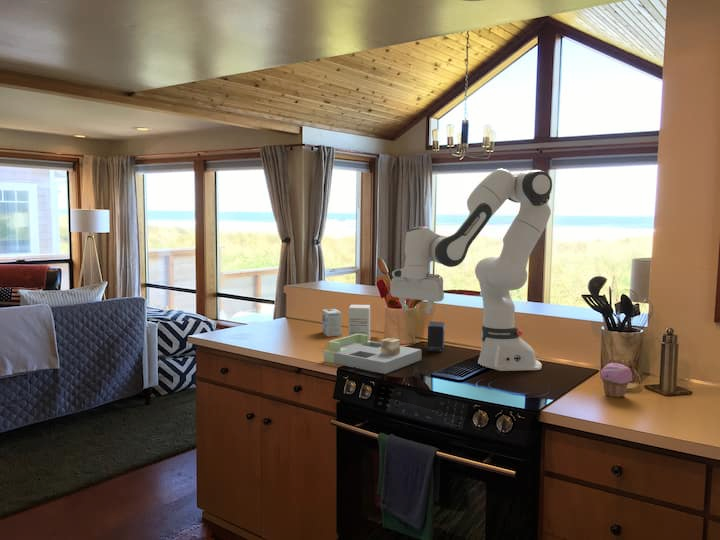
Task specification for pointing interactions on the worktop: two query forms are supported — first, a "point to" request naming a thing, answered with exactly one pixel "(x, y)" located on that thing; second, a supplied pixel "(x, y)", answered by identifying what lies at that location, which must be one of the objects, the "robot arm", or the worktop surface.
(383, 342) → the birch block
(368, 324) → the supplement box
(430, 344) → the small box
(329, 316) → the light bulb box
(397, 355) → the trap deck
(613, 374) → the cupcake
